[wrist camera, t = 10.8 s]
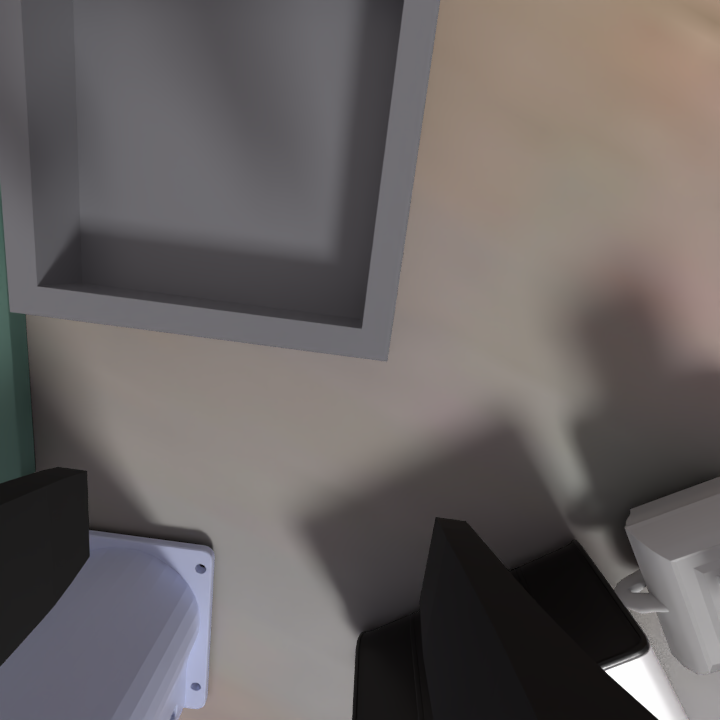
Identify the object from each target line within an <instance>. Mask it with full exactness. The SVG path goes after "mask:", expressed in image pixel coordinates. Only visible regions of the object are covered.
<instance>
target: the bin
mask: <svg viewBox="0 0 720 720" xmlns="http://www.w3.org/2000/svg"><path fill="white" fill-rule="evenodd" d="M439 5H440V0H0V184H1V198H2V211H3V225H4V238H5V252H6V265H7V279H8V292H9V306H10V312H14V313H22V314H29V315H37V316H44V317H52V318H60V319H67V320H75V321H83V322H90V323H98V324H105V325H113V326H121V327H128V328H136V329H143V330H151V331H159V332H166V333H174V334H182V335H189V336H197V337H204V338H212V339H220V340H227V341H235V342H242V343H250V344H258V345H265V346H273V347H281V348H288V349H296V350H303V351H311V352H319V353H326V354H334V355H341V356H349V357H357V358H364V359H372V360H380V361H387V360H388V353H389V346H390V339H391V333H392V326H393V319H394V312H395V305H396V298H397V292H398V285H399V278H400V271H401V264H402V257H403V251H404V244H405V237H406V230H407V223H408V217H409V210H410V203H411V196H412V189H413V182H414V176H415V169H416V162H417V155H418V148H419V141H420V135H421V128H422V121H423V114H424V107H425V100H426V94H427V87H428V80H429V73H430V66H431V59H432V53H433V46H434V39H435V32H436V25H437V18H438V12H439Z"/></svg>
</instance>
